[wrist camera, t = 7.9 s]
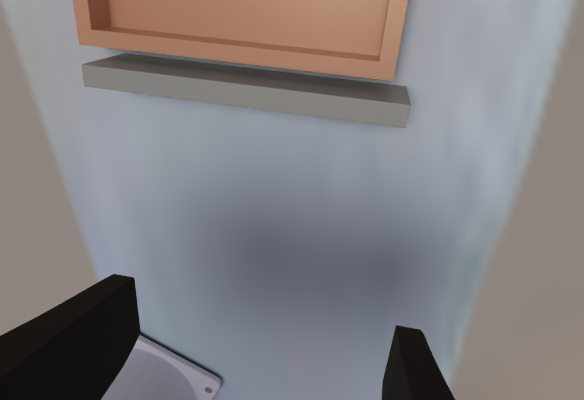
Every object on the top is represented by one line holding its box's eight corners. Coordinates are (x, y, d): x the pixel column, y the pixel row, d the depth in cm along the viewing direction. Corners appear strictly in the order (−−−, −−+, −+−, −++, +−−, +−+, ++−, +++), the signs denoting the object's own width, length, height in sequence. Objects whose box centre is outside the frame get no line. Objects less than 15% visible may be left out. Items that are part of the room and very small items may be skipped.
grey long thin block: (402, 106, 17) (405, 128, 15) (125, 72, 19) (84, 86, 16) (406, 86, 17) (410, 105, 14) (124, 53, 19) (81, 64, 16)
